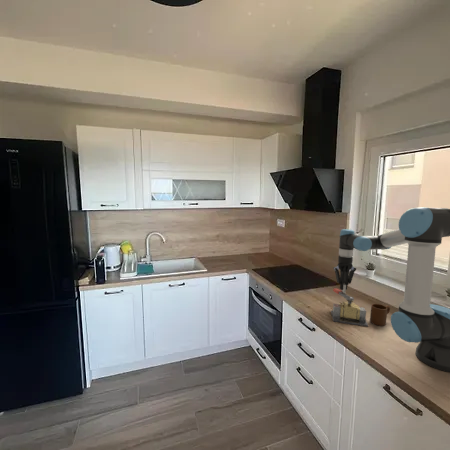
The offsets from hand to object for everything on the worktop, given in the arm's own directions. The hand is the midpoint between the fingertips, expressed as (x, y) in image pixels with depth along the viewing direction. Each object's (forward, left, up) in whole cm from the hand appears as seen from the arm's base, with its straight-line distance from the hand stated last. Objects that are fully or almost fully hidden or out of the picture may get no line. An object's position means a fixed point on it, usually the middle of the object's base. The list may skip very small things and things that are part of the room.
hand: (343, 294), depth 152 cm
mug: (-7, -19, -11) cm, 23 cm away
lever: (-3, 0, 0) cm, 4 cm away
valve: (-9, -2, -10) cm, 14 cm away
